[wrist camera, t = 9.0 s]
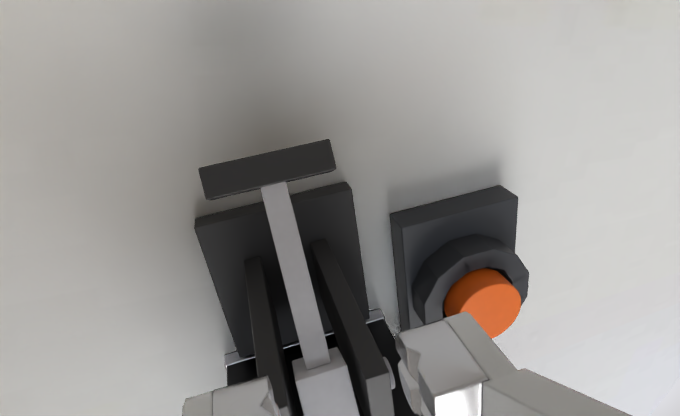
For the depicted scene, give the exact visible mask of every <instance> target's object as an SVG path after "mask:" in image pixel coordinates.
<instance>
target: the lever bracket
mask: <svg viewBox="0 0 680 416" xmlns="http://www.w3.org/2000/svg"><path fill="white" fill-rule="evenodd" d="M290 199H291V203H292V207H293V211H294V215H295V219H296V223H297V227H298V231H299V235H300V239H301V243H302V247H303V251H304V255H305V259H306V263H307V267H308V271H309V275H310V279H311V283H312V287H313V291H314V295H315V299H316V303H317V307H318V311H319V315H320V319H321V323H322V327H323V331H324V332H327V331H331V330H333V332H334V334H335V337H336V340H337V343H338V345H339V348H340V351H341V354H342V356H343V359H344V361H345V362H346V364H347V367H348V371H349V375H350V378H351V381H352V384H353V386H354V389H355V392H356V395H357V397H358V400H359V403H360V405H361V408H362V411H363V414H364V416H395V413H394V405H393V397H392V389H394V388H395V379H394V375H393V372H392V369H391V366H390V364H389V362H388V360H387V358H386V357H382V355H381V353H380V351H379V349H378V347H377V345H376V343H375V340H374V338H373V336H372V334H371V332H370V330H369V328H368V326H367V324H366V322H365V320H367V319H370V315H369V308H368V301H367V294H366V287H365V280H364V273H363V266H362V259H361V252H360V245H359V238H358V231H357V224H356V217H355V209H354V202H353V195H352V189H351V188H350V186H349V185H348V184H347V182H343V183H338V184H334V185H330V186H326V187H322V188H318V189H314V190H310V191H306V192H301V193H297V194H293V195H290ZM194 229H195V232H196V234H197V237H198V240H199V243H200V246H201V249H202V252H203V254H204V257H205V260H206V263H207V266H208V269H209V272H210V274H211V277H212V280H213V283H214V286H215V289H216V292H217V294H218V297H219V300H220V303H221V306H222V309H223V312H224V314H225V317H226V320H227V323H228V326H229V329H230V332H231V334H232V337H233V340H234V343H235V346H236V349H237V352H238V354H239V357H240V358H241V357H245V356H248V355H251V354H255V359H256V367H257V375H258V377H261V376H264V375H268V377H269V380H270V383H271V385H272V389H273V395H274V401H275V403H277V404H278V408H279V411H280V415H281V416H297V413H296V409H295V404H294V399H293V394H292V389H291V384H290V379H289V374H288V370H287V365H286V360H285V355H284V350H283V345H284V344H288V343H291V342H294V341H298V340H299V339H298V335H297V331H296V327H295V323H294V319H293V315H292V311H291V307H290V303H289V299H288V295H287V292H286V288H285V284H284V280H283V276H282V272H281V268H280V264H279V260H278V256H277V252H276V248H275V244H274V240H273V236H272V232H271V228H270V224H269V221H268V217H267V213H266V209H265V205H264V202H260V203H256V204H252V205H248V206H244V207H240V208H236V209H232V210H228V211H223V212H219V213H215V214H211V215H207V216H203V217H199V218H196V219H195V226H194Z"/></svg>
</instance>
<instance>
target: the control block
mask: <svg viewBox="0 0 680 416" xmlns="http://www.w3.org/2000/svg"><path fill="white" fill-rule="evenodd" d="M517 208H518V197H517V196H516V195H514V194H513V193H511V192H510V191H508V190H507V189H505V188H504V187H502V186H496V187H492V188H488V189H484V190H481V191H477V192H473V193H469V194H465V195H461V196H458V197H454V198H450V199H446V200H442V201H439V202H435V203H431V204H427V205H423V206H419V207H416V208H412V209H408V210H404V211H400V212H396V213H393V214H390V221H391V231H392V241H393V251H394V261H395V272H396V282H397V292H398V302H399V313H400V323H401V332H403V331H406V330H409V329H412V328H415V327H418V326H421V325H424V324H427V323H431V322H434V321H437V320H440V319H441V320H442V319H443V318H446V317H447V316H446V314H445V311H444V301H445V297H446V295H447V293H448V291H449V289H450V287H451V286H452V285H453V284H454V283H455V282H457V281H458V280H459V279H460V278H462V277H463V276H464V275H465V274H466V273H468V272H470V271H474V270H477V269H481V268H488V269H493V270H496V271H498V272H499V273H500V274H501V275H502V276H503V277H504V278H505V279H507V280H508V281H509V282H510V283H511V284H512V285H513V286H514V287H515V288H516V289H517V290H518V292H519V294H520V297H521V305H522V304H523V302H524V301H525V299H526V297H527V291H528V279H529V272H528V270H527V269H526V267H525V266H524V264H523V263H522V262H521V260H520V259H519V257H518V256H517V255H516V254H515V240H516V224H517Z"/></svg>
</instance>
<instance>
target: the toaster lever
mask: <svg viewBox="0 0 680 416" xmlns="http://www.w3.org/2000/svg"><path fill="white" fill-rule="evenodd" d="M335 169H336V164H335V160H334V155H333V151H332V147H331V143H330V140H329V139H326V140H321V141H317V142H312V143H308V144H304V145H299V146H295V147H290V148H286V149H281V150H277V151H272V152H268V153H263V154H259V155H255V156H250V157H246V158H241V159H237V160H232V161H228V162H223V163H219V164H214V165H210V166H206V167H201V168H199V174H200V178H201V182H202V186H203V189H204V193H205V197H206V199H207V200H215V199H219V198H223V197H227V196H231V195H236V194H240V193H244V192H248V191H252V190H257V189H261V193H262V197H263V201H264V205H265V209H266V213H267V217H268V221H269V224H270V228H271V232H272V236H273V240H274V244H275V248H276V252H277V256H278V260H279V264H280V268H281V272H282V276H283V280H284V284H285V288H286V292H287V295H288V299H289V303H290V307H291V311H292V315H293V319H294V323H295V327H296V331H297V335H298V339H299V343H300V347H301V351H302V355H303V358H300V359H296V360H293V361H292V366H293V372H294V377H295V383H296V387H297V391H298V395H299V399H300V402H301V406H302V410H303V414H304V416H360V415H359V411H358V407H357V403H356V399H355V395H354V391H353V387H352V383H351V379H350V375H349V371H348V367H347V364H346V362H345V361H344V359H343V357H342V355H341V353H340V351H339V349H338V347H335V348H332V349H329V350H328V347H327V343H326V339H325V335H324V331H323V327H322V323H321V319H320V315H319V311H318V307H317V303H316V299H315V295H314V291H313V287H312V283H311V279H310V275H309V271H308V267H307V263H306V259H305V255H304V251H303V247H302V243H301V239H300V235H299V231H298V227H297V223H296V219H295V215H294V211H293V207H292V203H291V199H290V195H289V191H288V187H287V183H286V182H290V181H294V180H299V179H303V178H307V177H311V176H315V175H320V174H324V173H328V172H332V171H333V170H335Z"/></svg>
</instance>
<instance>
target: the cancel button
mask: <svg viewBox="0 0 680 416" xmlns="http://www.w3.org/2000/svg"><path fill="white" fill-rule="evenodd" d="M520 308H521V297H520V294H519V292H518V290H517V289H516V288H515V287H514V286H513V285H512V284H511V283H510V282H509V281H508V280H507V279H505V278H504V277H503V276H502V275H501V274H500V273H499V272H498V271H496V270H493V269H488V268H481V269H477V270H474V271H470V272H468V273H466V274H465V275H464V276H463V277H462V278H460V279H459V280H458V281H457V282H455V283H454V284H453V285H452V286H451V287H450V289H449V291H448V293H447V295H446V297H445V301H444V311H445V314H446V316H447V317H449V316H453V315H456V314H459V313H462V312H465V311H466V312H468V313H470V314H471V315H472V316H473V318H474V319H475V320H476V321H477V322H478V324H479V325H480V326H481V327H482V328H483V330H484V331H485V332H486V333H487V334H488V336H489V337H490V338H491V339H492V338H494V337H496V336H498V335H500V334H501V333H502V332H504V331H505V330H506V329H507V328H508V327H509V326H510V325H511V324H512V323H513V322H514V320H515V319H516V317H517V316H518V313H519V311H520Z"/></svg>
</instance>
